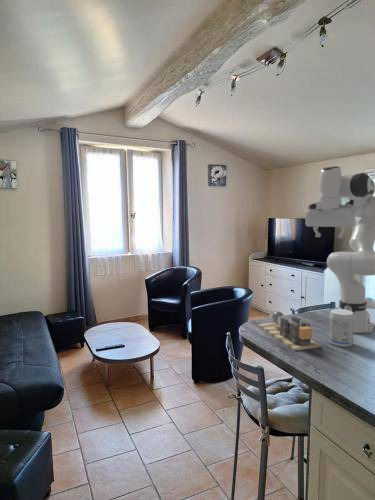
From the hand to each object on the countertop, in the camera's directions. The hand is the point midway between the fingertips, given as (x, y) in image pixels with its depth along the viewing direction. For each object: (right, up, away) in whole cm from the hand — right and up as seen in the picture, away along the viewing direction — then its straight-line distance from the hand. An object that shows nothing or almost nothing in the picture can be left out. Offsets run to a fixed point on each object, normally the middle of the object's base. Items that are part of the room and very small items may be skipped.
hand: (328, 237), depth 141 cm
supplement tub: (+8, -48, +6) cm, 49 cm away
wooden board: (-13, -47, +16) cm, 51 cm away
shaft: (-14, -43, +20) cm, 49 cm away
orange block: (-10, -44, +2) cm, 45 cm away
